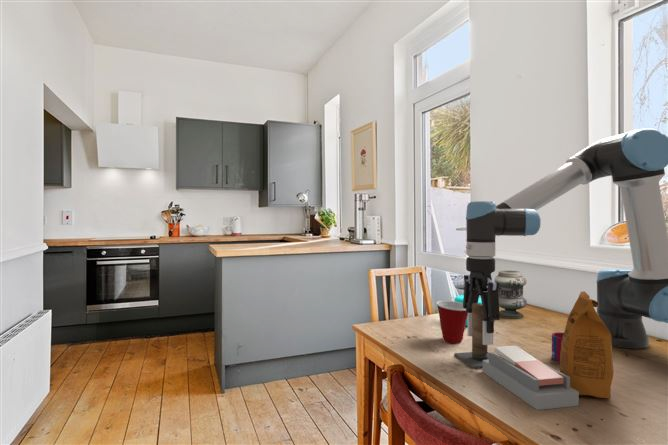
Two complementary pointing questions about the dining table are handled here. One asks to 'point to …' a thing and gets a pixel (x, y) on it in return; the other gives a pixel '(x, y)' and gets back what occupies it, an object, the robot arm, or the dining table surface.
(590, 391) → the coffee package
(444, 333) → the plastic cup
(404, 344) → the dining table surface
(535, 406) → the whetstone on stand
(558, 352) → the cup
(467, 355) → the mat
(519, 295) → the apothecary jar
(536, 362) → the rocker
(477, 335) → the wooden pestle
